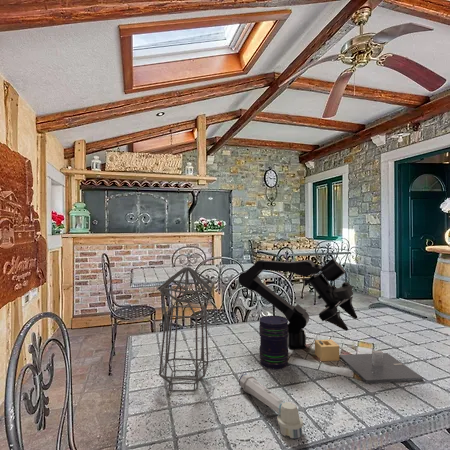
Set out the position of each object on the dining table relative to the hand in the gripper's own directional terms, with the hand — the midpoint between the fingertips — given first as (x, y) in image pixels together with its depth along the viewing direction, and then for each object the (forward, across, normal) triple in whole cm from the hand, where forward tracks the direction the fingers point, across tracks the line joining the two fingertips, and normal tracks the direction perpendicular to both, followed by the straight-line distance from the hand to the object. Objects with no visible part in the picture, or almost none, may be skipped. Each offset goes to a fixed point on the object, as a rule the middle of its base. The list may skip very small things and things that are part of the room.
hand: (352, 324), depth 112 cm
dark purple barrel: (-6, -26, +17) cm, 32 cm away
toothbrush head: (-2, -49, +4) cm, 49 cm away
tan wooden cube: (+4, -10, +10) cm, 15 cm away
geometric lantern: (-19, -54, +23) cm, 62 cm away
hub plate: (+14, -7, -2) cm, 16 cm away
